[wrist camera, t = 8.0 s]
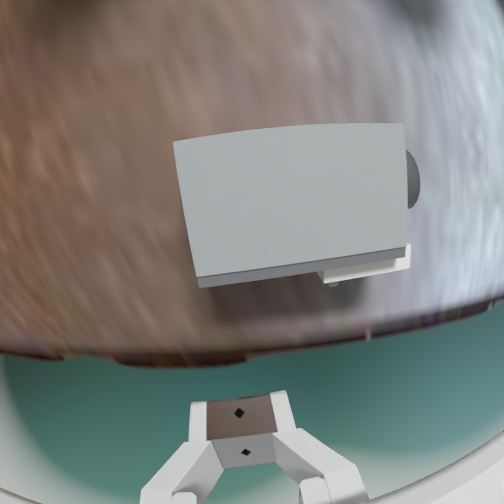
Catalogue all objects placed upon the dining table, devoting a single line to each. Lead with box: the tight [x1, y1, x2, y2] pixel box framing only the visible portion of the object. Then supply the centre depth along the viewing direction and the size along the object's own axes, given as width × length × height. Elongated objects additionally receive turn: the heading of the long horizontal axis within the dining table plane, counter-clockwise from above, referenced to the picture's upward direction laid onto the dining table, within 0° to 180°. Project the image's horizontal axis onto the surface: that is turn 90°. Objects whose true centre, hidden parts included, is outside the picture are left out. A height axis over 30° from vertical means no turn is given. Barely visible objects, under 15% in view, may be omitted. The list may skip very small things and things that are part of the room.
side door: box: [317, 242, 411, 287], centre depth 20 cm, size 6×2×5 cm, turn 97°
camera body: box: [173, 123, 420, 288], centre depth 18 cm, size 14×8×7 cm, turn 97°
